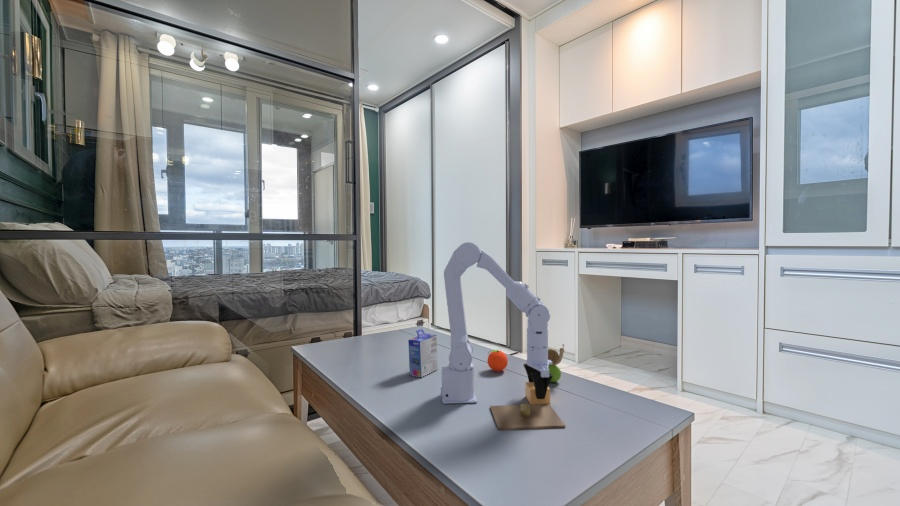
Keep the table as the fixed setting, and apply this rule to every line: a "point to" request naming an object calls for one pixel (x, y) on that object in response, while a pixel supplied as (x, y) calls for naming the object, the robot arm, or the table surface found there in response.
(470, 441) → the table surface
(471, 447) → the table surface
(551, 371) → the snail figurine
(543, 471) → the table surface
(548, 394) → the cardboard-colored cube
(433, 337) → the ink cartridge box
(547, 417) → the post board
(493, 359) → the clementine
